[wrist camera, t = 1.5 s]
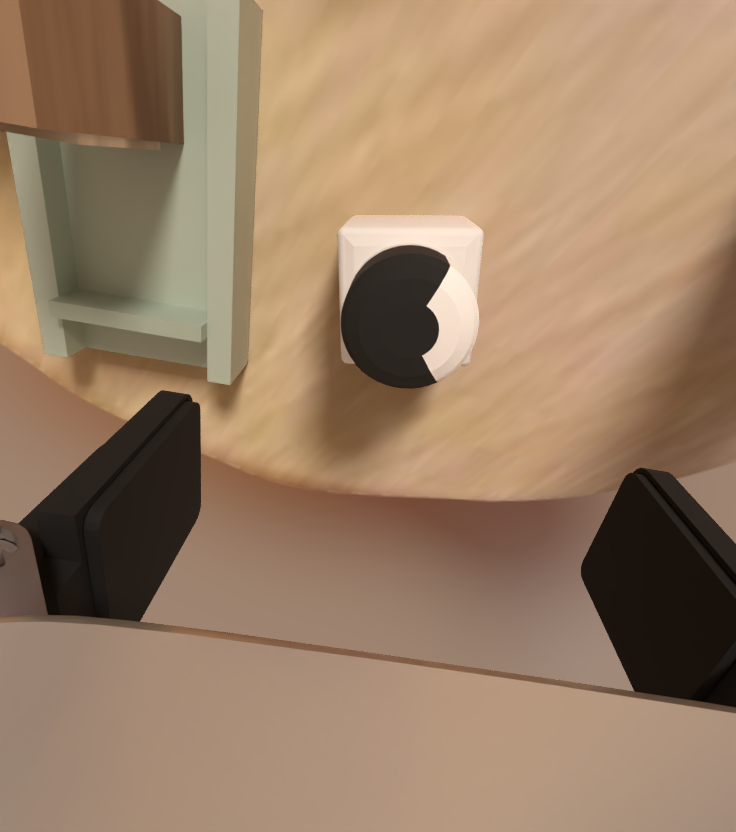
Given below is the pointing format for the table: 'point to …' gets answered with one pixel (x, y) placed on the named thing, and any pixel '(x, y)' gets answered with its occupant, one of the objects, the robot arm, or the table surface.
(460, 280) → the medicine bottle
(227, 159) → the pale green rimmed tray
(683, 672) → the robot arm
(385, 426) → the table surface
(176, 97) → the fitted walnut block
